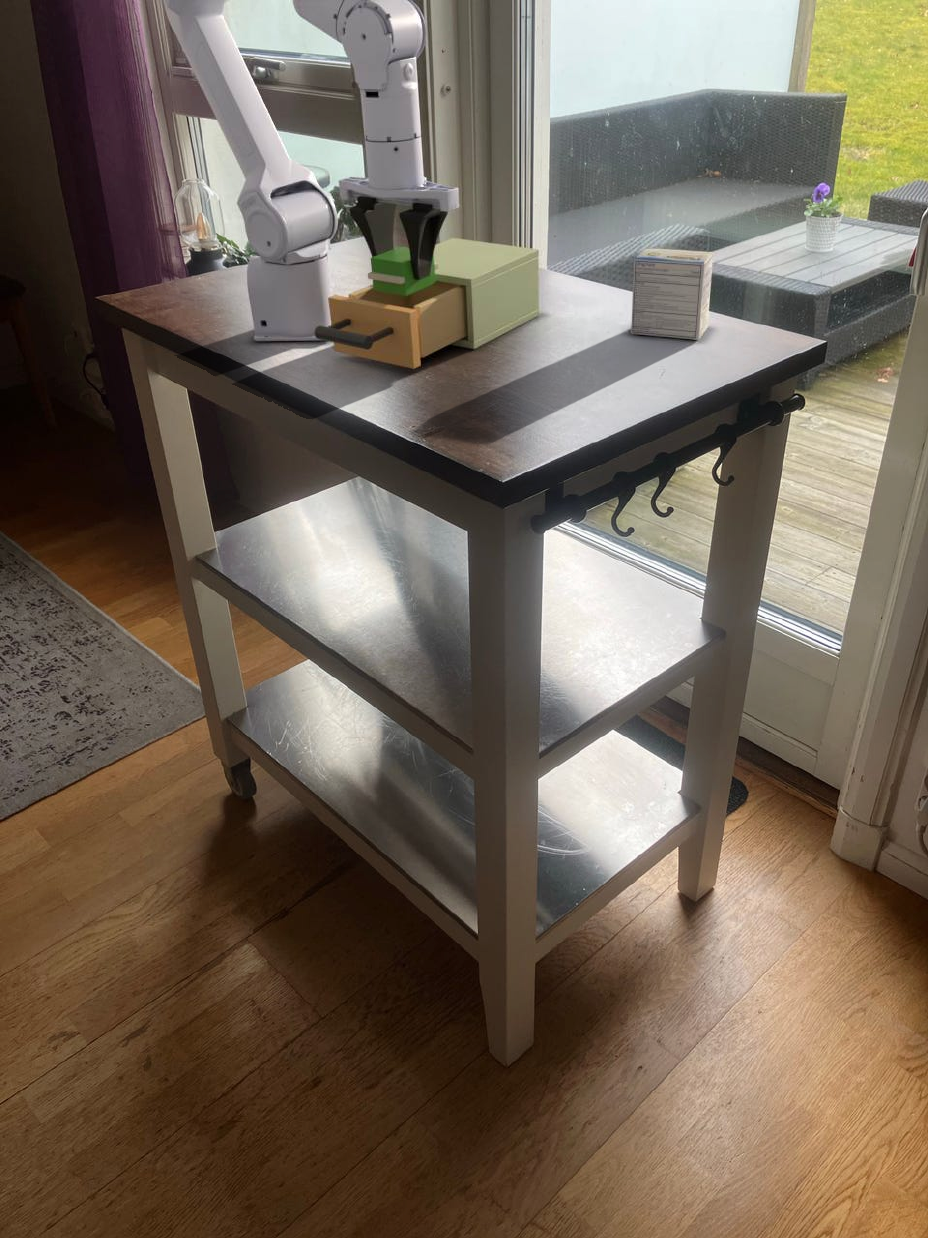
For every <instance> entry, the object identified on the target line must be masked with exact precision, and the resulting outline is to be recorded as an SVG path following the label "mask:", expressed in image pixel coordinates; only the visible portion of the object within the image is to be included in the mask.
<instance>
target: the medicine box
mask: <svg viewBox="0 0 928 1238" xmlns="http://www.w3.org/2000/svg"><path fill="white" fill-rule="evenodd" d="M713 263H714V253H713V252H711V251H701V250H700V251H698V250H687V249H686V250H685V249H668V248H645V249H644V250H642V251H641V252H640V253H639V254H638V255H636V257H635V258H634V259H633V275H632V276H633V280H632V297H631V300H632V302H631V303H632V305H631V324H630V325H631V327H630V334H631V335H639V336H649V337H652V336H653V337H663V338H672V339H684V340H695V341H699V340H700V338H701V337H702V336H703V334H704V333H705V332H706V330H707V329H708V326H709V318H710V317H709V315H710V314H709V313H710V300H711V288H712V277H713Z"/></svg>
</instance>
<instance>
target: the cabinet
mask: <svg viewBox="0 0 928 1238" xmlns="http://www.w3.org/2000/svg"><path fill="white" fill-rule="evenodd" d="M539 252H540V249H539V248H538V249H537V248H530V247H524V246H523V247H522V246H515V245H510V244H509V245H508V244H500V243H494V242H486V241H478V240H473V239H472V240H471V239H463V238H455V237H452V238H449V239H447V240H444V241H442V242H438V243H436V245H435V249H434V263H438V266H439V268H438V269H436V270H435V281H440V282H446V283H452V284H458V285H464V286H466V302H467V324H468V335H467V336H465V337H463V338H461V339H459V340H457V341H455V342H453V343H451V344H449V345H451V346H456V347H461V348H466V349H470V350H475V349H478V348H480V347H481V346H484V345H485V344H487V343H489V342H491V341H493V340H495V339H497V338H498V337H501V336H502V335H505V334H506V333H508V332H510V331H512V330H514V329H516V328H518V327H520V326H522V325H523V324H525V323H528V322H529V321H532V320H533V319H535V318H537V317H539V316H540V309H539V308H540V286H539V285H540V278H539V277H540V274H539V273H540V266H539V265H540V263H539V260H540V259H539V258H540V257H539V256H540V253H539Z"/></svg>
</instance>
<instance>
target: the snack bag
mask: <svg viewBox="0 0 928 1238" xmlns="http://www.w3.org/2000/svg"><path fill="white" fill-rule="evenodd" d="M370 266H371V271H370V272H368V273H367V279H368V280H372V285H373V288H374V291H380V292H385V293H391V294H397V295H402V296H408V295H410V294H412V293H415V292H417V291H419V290H422V289H424V288H426V287H429V286H431V285H433V284H435V270H436V269H438V268H439V266H438V263H434V254H433V259H432V265H431V272H430V276H427V277H425V278H423V279H420V280H416V279H414V276H413V272H412V267H411V260H410V250H409V246H408V247H407V246H399V247H395V248H394V249H393V250H390V251H388V252H385V253H382V254H380V255H377V256H374V257H372V256H371V257H370Z"/></svg>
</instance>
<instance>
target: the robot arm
mask: <svg viewBox="0 0 928 1238" xmlns="http://www.w3.org/2000/svg"><path fill="white" fill-rule="evenodd" d="M228 1H229V0H162V2H163V5H164V6H163V7H164V9H165V13H166V16H167V19H168V21H169V24H170V26H171V29H172V30H173V33H174V34H175V37H176V39H177V41H178V43H179V45H180V47H181V49H182V51H183V53H184V55H185V58H186V59H187V61H188V64H189V65H190V68H191V70H192V71H193V74H194V75H195V78H196V79H197V83H198V84H199V86H200V88H201V90H202V92H203V94H204V97H205V98H206V100H207V102H208V105H209V107H210V108H211V110H212V112H213V115H214V118H215V119H216V121H217V123H218V124H219V127H220V129H221V131H222V133H223V135H224V137H225V140H226V141H227V144H228V146H229V148H230V150H231V153H232V154H233V156H234V158H235V160H236V162H237V164H238V166H239V168H240V170H241V173H242V174H243V176H244V178H245V181H244V184H243V185H242V189H241V191H240V193H239V195H238V198H237V201H236V205H237V207H238V209H239V211H240V213H241V215H242V219H243V224H244V229H245V235H246V238H247V240H248V242H249V245H250V246H251V248H252V249H253V251H255V253H256V254H257V255H258V256H257V255H256V256H253V257H251V258H250V259H249V261H248V264H247V267H246V285H247V286H246V287H247V293H248V299H249V305H250V311H251V317H252V322H253V329H254V334H255V335H254V337H253V340H254V341H255V342H283V341H284V342H290V341H291V342H294V341H295V342H296V341H298V342H301V341H302V342H303V341H311V342H312V341H321V340H320V339H317V338H316V337H315V329H316V327H317V326H325V327H328V326H330V325H331V318H330V310H329V302H328V298H329V297H331V296H334V295H333V287H332V281H331V278H332V277H331V271H330V262H329V254H328V251H330V250H331V249H332V246H331V240H332V239H333V238H334V237H335V235H336V233H337V230H338V225H339V218H338V211H337V208H336V205H335V203H334V201H333V200H332V198H331V197H330V195H329V194H328V193H327V192H326V191H325V190H324V189H323V188H322V187H321V186H320V184H319V183H318V181H317V179H316V177H315V175H314V173H313V171H311V170H310V169H308V168H307V167H305V166H304V165H302V164H300V163H298V162H296V161H295V160H293V159H292V158H291V157H290V156H289V154H288V152H287V150H286V147H285V145H284V143H283V141H282V138H281V136H280V135H279V132H278V131H277V129H276V126H275V124H274V122H273V120H272V118H271V116H270V113H269V111H268V109H267V107H266V104H265V103H264V101H263V99H262V96H261V95H260V92H259V90H258V88H257V86H256V84H255V81H254V79H253V78H252V75H251V73H250V71H249V69H248V66H247V65H246V63H245V61H244V58H243V56H242V54H241V52H240V50H239V48H238V46H237V44H236V41H235V39H234V37H233V35H232V33H231V31H230V28H229V26H228V24H227V22H226V20H225V18H224V8H225V4H226V3H228ZM292 5H293V7H294V10H295V12H296V14H297V15H298V16H299V17H300V18H302V19H303V20H305V21H306V22H307V23H309V24H311V25H312V26H314V27H315V28H317V29H318V30H320V31H321V32H323V33H325V34H326V35H327V36H328V37H331V38H332V39H334V40H335V41H337V42H338V43H340V44H341V45H342V47H343V50H344V53H345V55H346V57H347V59H348V60H349V62H350V63H351V65H352V67H353V71H354V78H355V83H356V84H357V86H358V89H359V93H360V103H361V104H360V105H361V114H362V115H361V116H362V124H363V125H362V126H363V136H364V145H365V156H366V157H365V158H366V167H367V177H358V176H357V177H356V176H347V177H345V178H341V179H339V180H338V189H339V197H340V200H344V201H345V200H346V201H350V200H356V201H357V202H356V205H354V206H351V207H349V215H350V217H351V218H352V219H353V221H354V222H355V224H356V225H357V227H358V228H359V230H360V232H361V234H362V236H363V238H364V240H365V242H366V244H367V246H368V249H369V251H370V255H371V258H372V257H374V256H377V255H380V254H382V253H385V252H388V251H390V250H393V249H395V243H394V228H395V227H394V225H395V216H396V210H397V206H398V205H403V206H410V207H412V208H410V209H407V210H404V211H402V212H399V213H398V217H399V220H400V221H401V223H402V227H403V229H404V232H405V236H406V240H407V244H408V248H409V250H410V260H411V267H412V272H413V276H414V279H416V280H420V279H423V278H425V277H427V276H430V272H431V265H432V259H433V254H434V249H435V245H436V244H437V240H438V237H439V235H440V232H441V229H442V226H443V225H444V222H445V220H446V218H447V216H448V214H449V212H451V211H454V210H455V209H456V210H457V209H459V208H460V197H459V187H455V186H448V185H444V184H440V183H436V182H432V181H429V180H427V176H425V175H424V174H425V173H424V160H423V143H422V129H421V127H422V126H421V112H420V98H419V83H418V82H419V81H418V67H417V59H418V58H419V57H420V55H421V54H422V53H423V51H424V48H425V45H426V42H427V25H426V21H425V17H424V15H423V13H422V11H421V9H420V7H419V6H418V5H417V4H416V3H415V2H414V1H413V0H292Z"/></svg>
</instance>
